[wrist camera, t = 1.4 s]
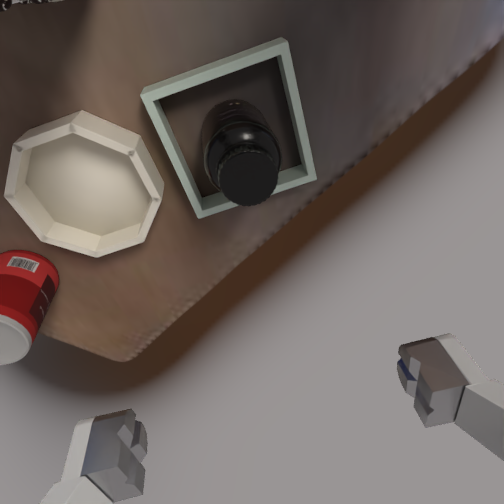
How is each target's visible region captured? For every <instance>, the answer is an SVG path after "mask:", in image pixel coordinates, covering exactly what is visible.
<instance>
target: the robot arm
mask: <svg viewBox="0 0 504 504" xmlns="http://www.w3.org/2000/svg"><path fill="white" fill-rule="evenodd" d="M398 353H399V355H400V356H401V359H400V360H399V361H398V362H397V370H398V375H399V378H400V381H401V383H402V386H403V388H404V390H405V391H406V393H408V394H409V395H411V396H412V397H414V398H415V400H414V408H415V410H416V412H417V413H418V415H419V417H420V419H421V421H422V422H423V424H424V426H425V427H426V428H427V427H432V426H436V425H442V424H446V423H451V422H455V424H456V425H457V426H459V427H460V428H461V429H462V430H464V431H465V432H466V433H468V434H469V435H470V436H472V437H473V438H474V439H476V440H477V441H478V442H480V443H481V444H482V445H484V446H485V447H486V448H487V449H489V450H490V451H491V452H493V453H494V454H495V455H497V456H498V457H499V458H501V459H502V460H503V461H504V384H503V383H501V382H499V381H497V380H496V379H493V380H489V379H488V378H487V376H486V375H485V374H484V372H483V371H482V370H481V369H480V367H479V366H478V365H477V363H475V361H474V360H473V358H472V357H471V356H470V355H469V353H468V352H467V351H466V349H465V348H464V347H463V346H462V344H461V343H460V342H459V341H458V340H457V338H456V337H455V336H454V335H452V334H444V335H440V336H437V337H430V338H426V339H422V340H418V341H414V342H410V343H407V344H403V345H401V346H400V347H399V351H398ZM135 417H136V414H135V413H134V411H133V410H132V409H127V410H123V411H118V412H114V413H110V414H106V415H101V416H95V417H91V418H87V419H83V420H79V421H78V423H77V424H76V426H75V428H74V431H73V435H72V439H71V443H70V447H69V450H68V454H67V458H66V462H65V465H64V469H63V473H62V477H61V480H60V482H56V483H55V484H54V485H53V486H52V487H51V489H50V490H49V492H48V493H47V494H46V495H45V497H44V498H43V499H42V501H41V502H40V503H39V504H114V502H117V501H121V500H125V499H128V498H132V497H136V496H140V495H143V488H144V478H145V469H144V467H143V466H142V464H141V462H142V460H143V459H144V457H145V456H146V454H147V434H146V430H145V428H144V425H143V424H142V423H141V422H139V421H137V420H135Z"/></svg>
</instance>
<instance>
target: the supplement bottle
mask: <svg viewBox="0 0 504 504" xmlns="http://www.w3.org/2000/svg"><path fill="white" fill-rule="evenodd" d="M202 146H203V159H204V167H205V171H206V174H207V176H208V178H209V180H210V182H211V183H212V184H213V185H214V186H215V187H216V188H217V189H218V190H219V191H221V192H222V193H224V196H225V197H227V198H228V200H230V201H232V202H233V203H236V204H237V205H242V206H251V205H256V204H260V203H261V202H263V201H265V200H266V199H267V198H269V197H270V195H271V194H272V193H273V192H274V190H275V189H276V185H277V183H278V181H277V180H278V174H279V171H280V168H281V163H282V154H281V149H280V146H279V143H278V141H277V139H276V137H275V135H274V134H273V132H272V130H271V129H270V127H269V125H268V123H267V122H266V120H265V118H264V117H263V115H262V114H261V112H260V111H259V110H258V109H257V108H256V107H255V106H253V105H252V104H250V103H248V102H246V101H243V100H237V99H233V100H227V101H223V102H221V103H219V104H217V105H216V106H215V107H213V108H212V109H211V110H210V112H209V113H208V114H207V116H206V118H205V120H204V123H203V126H202Z"/></svg>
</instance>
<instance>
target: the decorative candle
mask: <svg viewBox="0 0 504 504" xmlns="http://www.w3.org/2000/svg"><path fill="white" fill-rule="evenodd" d="M58 1H64V0H0V11H5V10H7V9H9V8H10V7H11V5H12V4H14V3H20V4H28V3H36V4H41V3H44V2H45V3H48V2H58Z"/></svg>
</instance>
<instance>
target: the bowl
mask: <svg viewBox="0 0 504 504" xmlns="http://www.w3.org/2000/svg"><path fill="white" fill-rule="evenodd" d="M163 189H164V182H163V180H162V178H161V176H160V174H159V172H158V170H157V168H156V166H155V164H154V162H153V160H152V158H151V156H150V154H149V152H148V150H147V148H146V146H145V144H144V142H143V140H142V138H141V135H138V134H136V133H134V132H131V131H129V130H127V129H125V128H122V127H120V126H118V125H115V124H113V123H111V122H109V121H106V120H104V119H102V118H99V117H97V116H95V115H92V114H90V113H88V112H86V111H83V110H81V111H78V112H76V113H73V114H70V115H67V116H65V117H62V118H59V119H57V120H54V121H51V122H48V123H46V124H43V125H40V126H38V127H35V128H32V129H29V130H28V131H27V132H26V133H24V134H23V135H22V136H21V137H20V138H19V139H18V140H17V141H15V142H14V143H13V146H12V152H11V158H10V163H9V169H8V175H7V181H6V186H5V192H4V197H5V198H6V199H7V201H8V202H9V203H10V204H11V205H12V207H13V208H14V209H15V210H16V212H17V213H18V214H19V215H20V216H21V218H22V219H23V220H24V221H25V222H26V224H27V225H28V226H29V227H30V228H31V230H32V231H33V232H34V233H35V234H36V236H37V237H38V238H39V239H40V240H41V241H42V242H45V243H49V244H52V245H55V246H59V247H62V248H66V249H69V250H72V251H76V252H79V253H82V254H86V255H89V256H92V257H96V258H97V257H100V256H103V255H106V254H109V253H112V252H115V251H118V250H121V249H124V248H127V247H130V246H133V245H136V244H139V243H142V242H144V240H145V238H146V236H147V233H148V231H149V229H150V226H151V224H152V222H153V219H154V217H155V215H156V212H157V210H158V208H159V205H160V203H161V201H162V196H163Z"/></svg>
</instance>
